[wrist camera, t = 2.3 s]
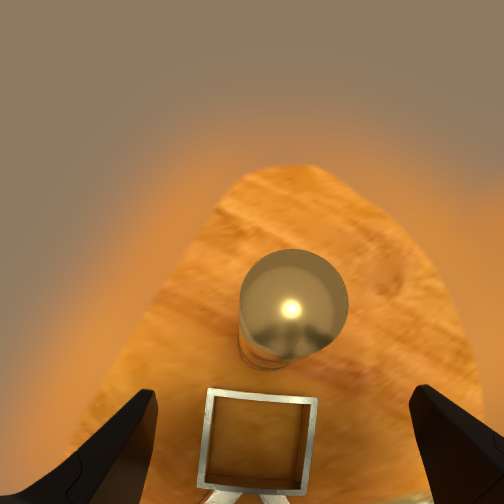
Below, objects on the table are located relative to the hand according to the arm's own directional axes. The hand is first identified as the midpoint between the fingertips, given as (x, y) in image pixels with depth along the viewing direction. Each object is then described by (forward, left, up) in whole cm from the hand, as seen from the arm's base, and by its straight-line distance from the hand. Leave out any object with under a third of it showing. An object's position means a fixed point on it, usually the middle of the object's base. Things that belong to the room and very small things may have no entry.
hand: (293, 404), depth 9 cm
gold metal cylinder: (+3, 0, -10) cm, 11 cm away
